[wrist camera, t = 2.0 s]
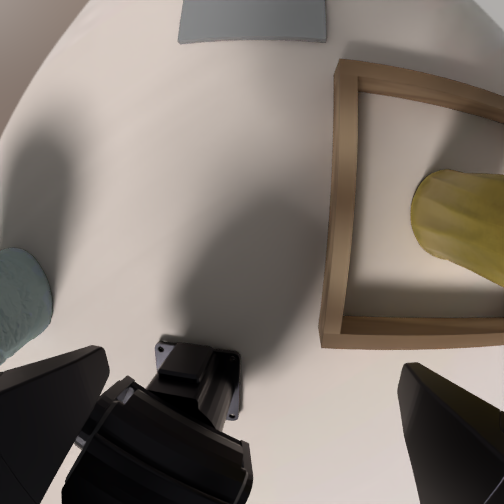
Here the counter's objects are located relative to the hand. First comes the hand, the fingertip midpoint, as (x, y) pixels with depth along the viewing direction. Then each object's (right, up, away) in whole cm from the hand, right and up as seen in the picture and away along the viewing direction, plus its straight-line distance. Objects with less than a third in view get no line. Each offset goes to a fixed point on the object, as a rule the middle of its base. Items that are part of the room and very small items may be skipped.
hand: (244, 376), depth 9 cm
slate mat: (0, +23, +9) cm, 24 cm away
